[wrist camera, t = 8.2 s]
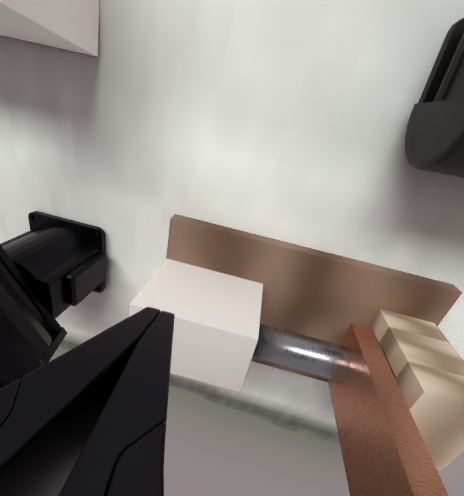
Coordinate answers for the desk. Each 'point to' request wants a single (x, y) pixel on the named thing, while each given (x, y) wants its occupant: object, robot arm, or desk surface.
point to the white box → (53, 23)
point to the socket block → (426, 380)
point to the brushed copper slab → (361, 410)
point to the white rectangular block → (206, 321)
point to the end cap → (441, 112)
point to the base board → (308, 282)
